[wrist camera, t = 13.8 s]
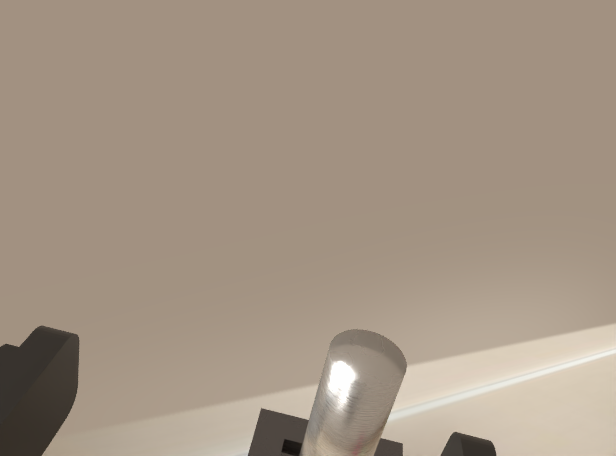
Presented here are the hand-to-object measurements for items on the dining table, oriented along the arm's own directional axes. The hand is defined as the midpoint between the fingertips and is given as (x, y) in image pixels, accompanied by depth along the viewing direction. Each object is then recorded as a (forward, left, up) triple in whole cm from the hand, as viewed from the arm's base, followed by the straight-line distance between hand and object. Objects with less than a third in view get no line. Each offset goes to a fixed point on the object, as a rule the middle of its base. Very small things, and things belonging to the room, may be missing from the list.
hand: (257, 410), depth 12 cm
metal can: (+4, +16, -30) cm, 34 cm away
